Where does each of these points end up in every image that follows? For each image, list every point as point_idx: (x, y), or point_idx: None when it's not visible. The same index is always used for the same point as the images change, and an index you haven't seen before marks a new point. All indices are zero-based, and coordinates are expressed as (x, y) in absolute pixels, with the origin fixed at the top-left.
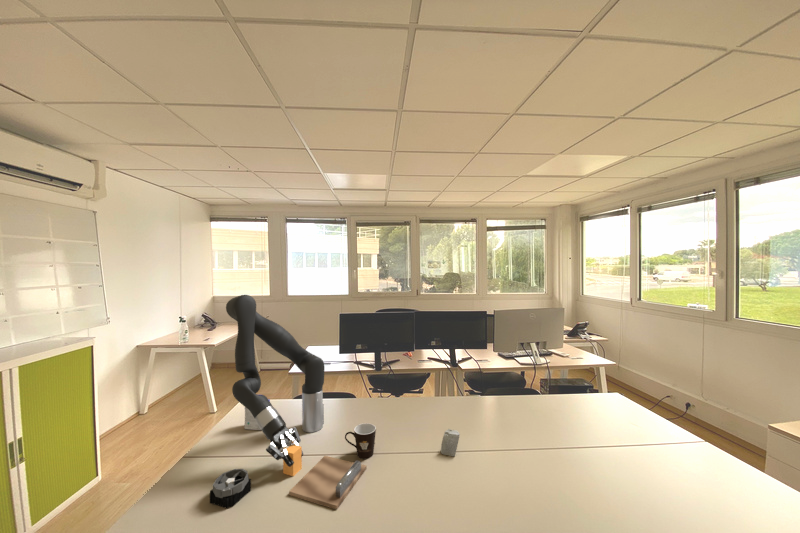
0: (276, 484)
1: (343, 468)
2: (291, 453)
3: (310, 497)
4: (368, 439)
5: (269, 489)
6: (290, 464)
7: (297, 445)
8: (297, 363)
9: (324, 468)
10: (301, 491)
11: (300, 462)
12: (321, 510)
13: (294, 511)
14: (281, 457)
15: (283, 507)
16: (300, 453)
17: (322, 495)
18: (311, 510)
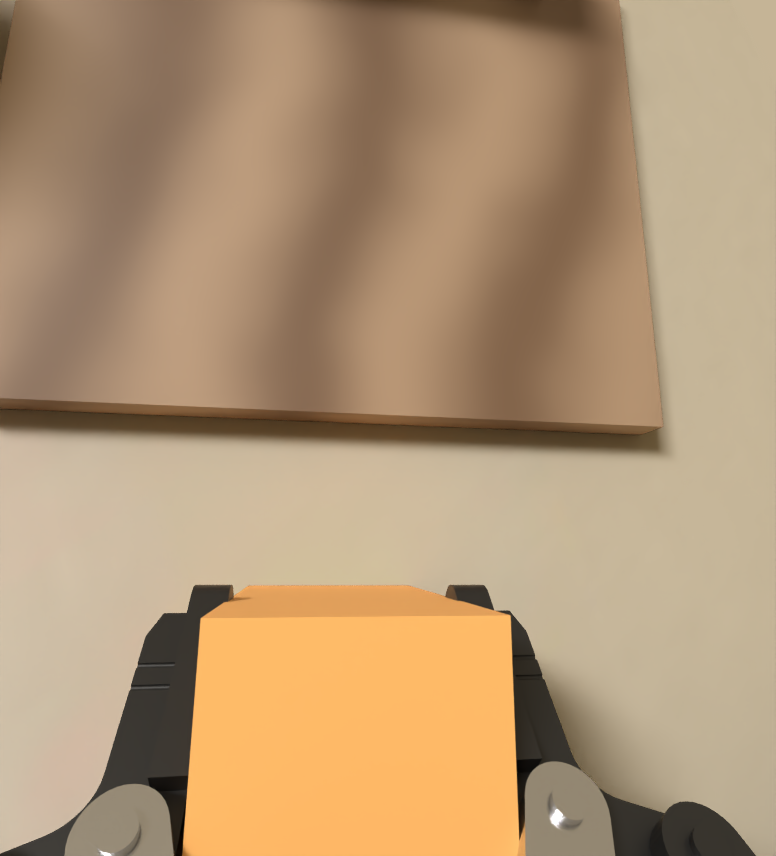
0: (582, 683)
1: (159, 62)
2: (508, 671)
3: (636, 188)
4: None
5: (667, 699)
6: None
7: (148, 797)
8: None
9: (221, 261)
10: (612, 307)
11: (269, 591)
12: (649, 90)
13: (745, 275)
14: (647, 823)
15: (758, 387)
16: (257, 605)
17: (574, 103)
18: (681, 158)
